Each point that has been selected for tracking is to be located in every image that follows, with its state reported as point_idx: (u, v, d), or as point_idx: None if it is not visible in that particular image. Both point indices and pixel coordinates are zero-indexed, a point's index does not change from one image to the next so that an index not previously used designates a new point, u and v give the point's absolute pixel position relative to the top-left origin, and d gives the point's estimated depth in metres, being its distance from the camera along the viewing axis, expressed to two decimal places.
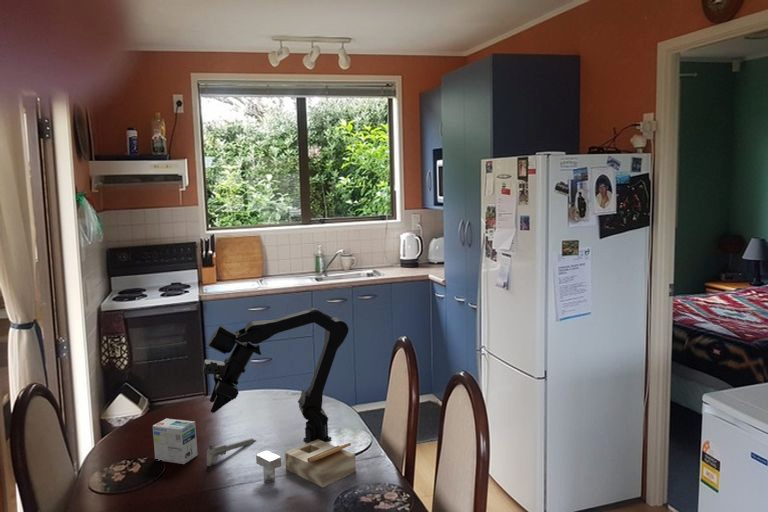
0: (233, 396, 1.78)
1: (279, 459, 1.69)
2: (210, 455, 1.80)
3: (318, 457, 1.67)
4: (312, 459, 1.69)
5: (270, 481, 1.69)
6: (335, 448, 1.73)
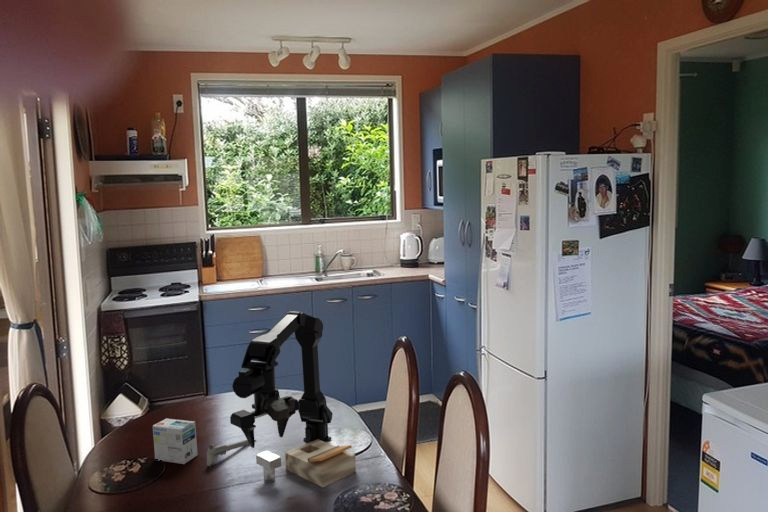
0: None
1: (279, 459, 1.69)
2: (210, 455, 1.80)
3: (319, 459, 1.67)
4: (312, 460, 1.69)
5: (270, 481, 1.69)
6: (336, 449, 1.73)
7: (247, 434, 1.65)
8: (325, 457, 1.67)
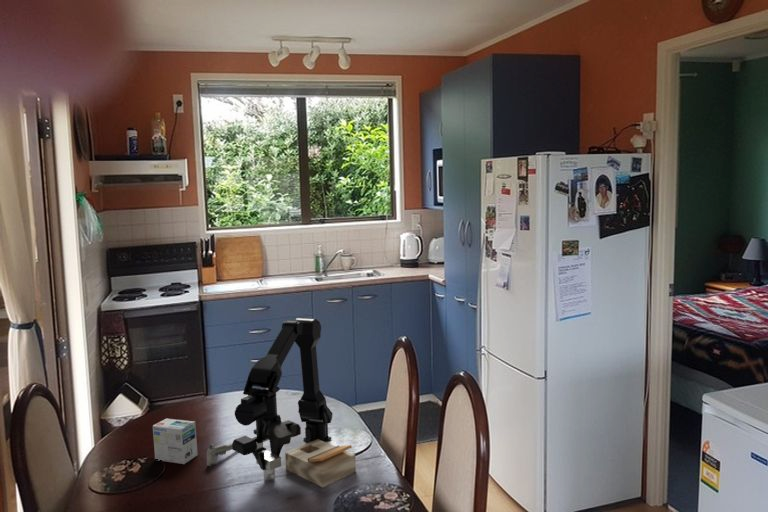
0: None
1: (279, 459, 1.69)
2: (210, 455, 1.80)
3: (319, 459, 1.67)
4: (312, 460, 1.69)
5: (270, 481, 1.69)
6: (336, 449, 1.73)
7: (257, 457, 1.68)
8: (325, 457, 1.67)
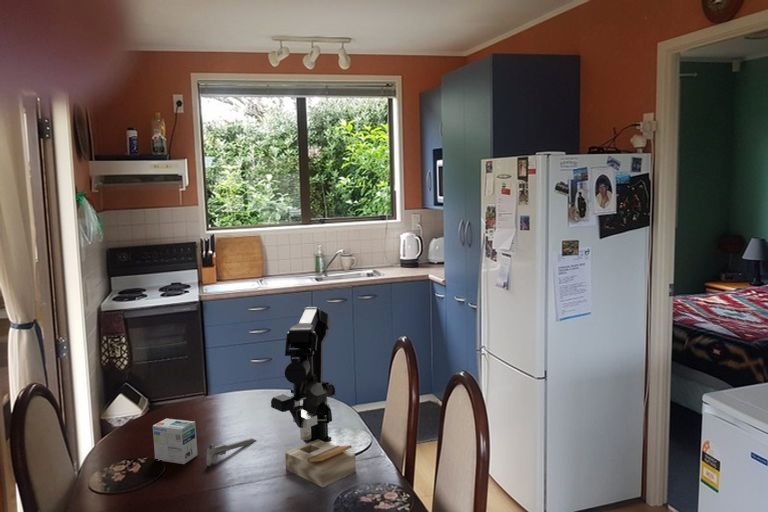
0: None
1: (315, 417, 1.75)
2: (210, 455, 1.80)
3: (319, 459, 1.67)
4: (312, 460, 1.69)
5: (306, 438, 1.76)
6: (336, 449, 1.73)
7: (294, 415, 1.75)
8: (325, 457, 1.67)
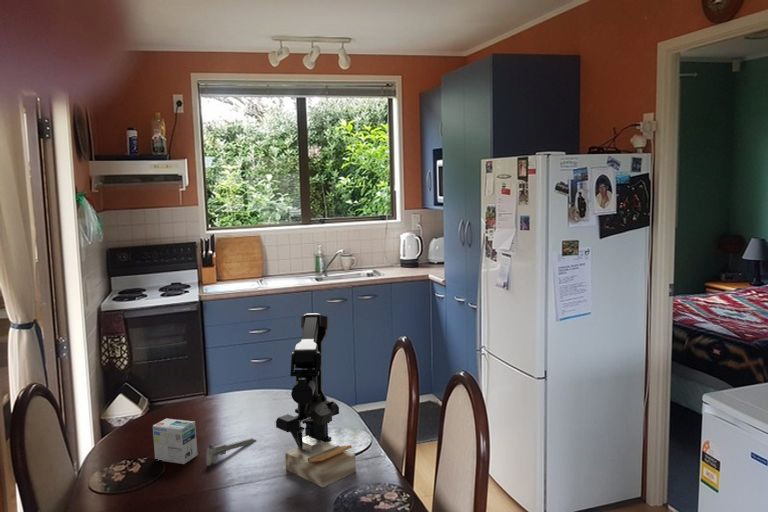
0: None
1: (320, 444, 1.77)
2: (210, 455, 1.80)
3: (319, 459, 1.67)
4: (312, 460, 1.69)
5: None
6: (336, 449, 1.73)
7: (295, 436, 1.75)
8: (325, 457, 1.67)
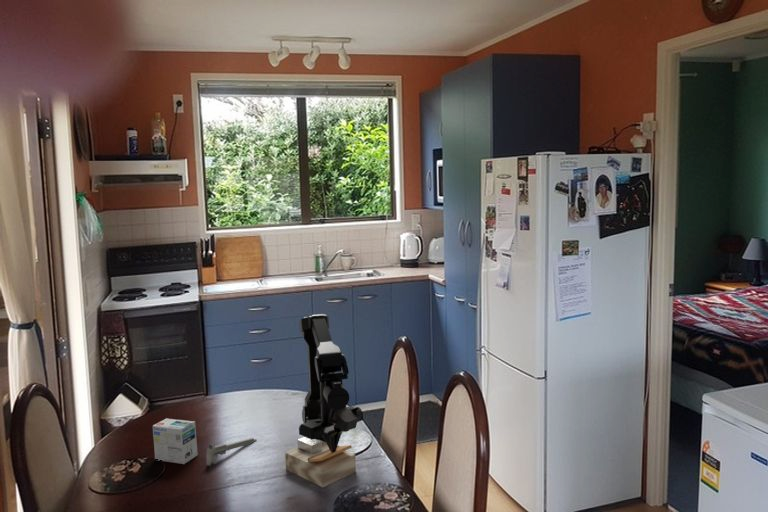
0: None
1: (320, 444, 1.77)
2: (210, 454, 1.80)
3: (319, 459, 1.67)
4: (312, 460, 1.69)
5: None
6: (336, 449, 1.73)
7: (328, 439, 1.70)
8: (325, 457, 1.67)
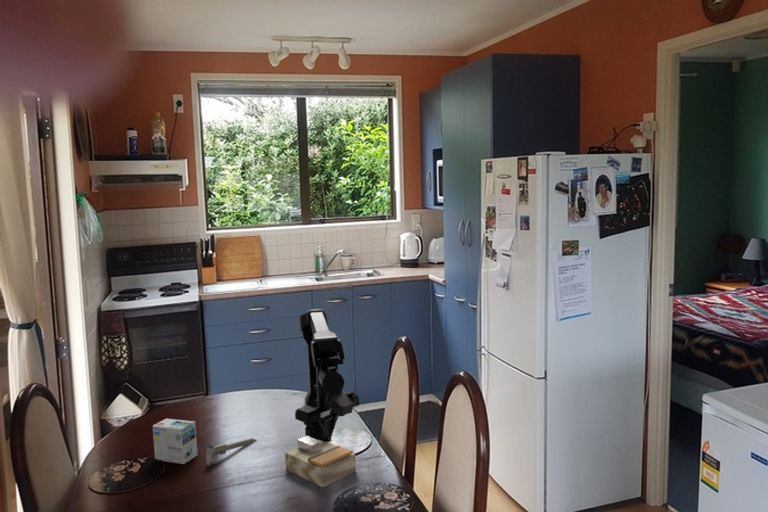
0: None
1: (320, 444, 1.77)
2: (210, 454, 1.80)
3: (320, 464, 1.67)
4: (313, 462, 1.69)
5: None
6: (337, 452, 1.73)
7: (324, 424, 1.71)
8: (326, 463, 1.67)
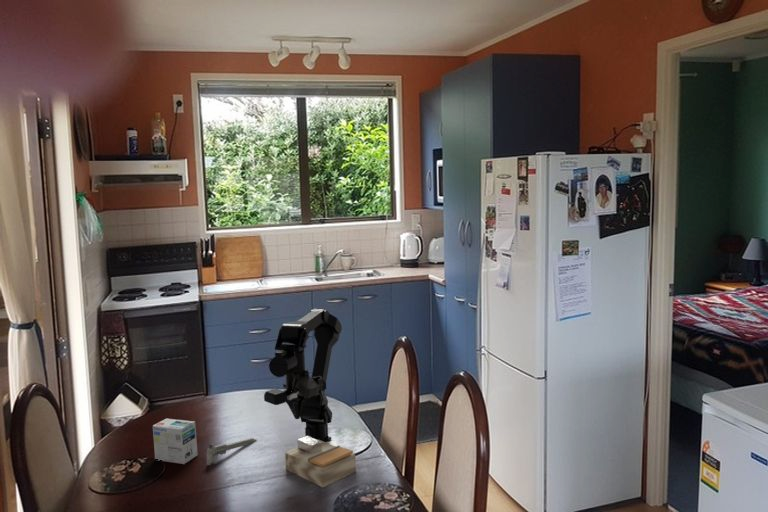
0: None
1: (320, 444, 1.77)
2: (210, 454, 1.80)
3: (320, 464, 1.67)
4: (313, 462, 1.69)
5: None
6: (337, 452, 1.73)
7: (292, 407, 1.82)
8: (326, 463, 1.67)
